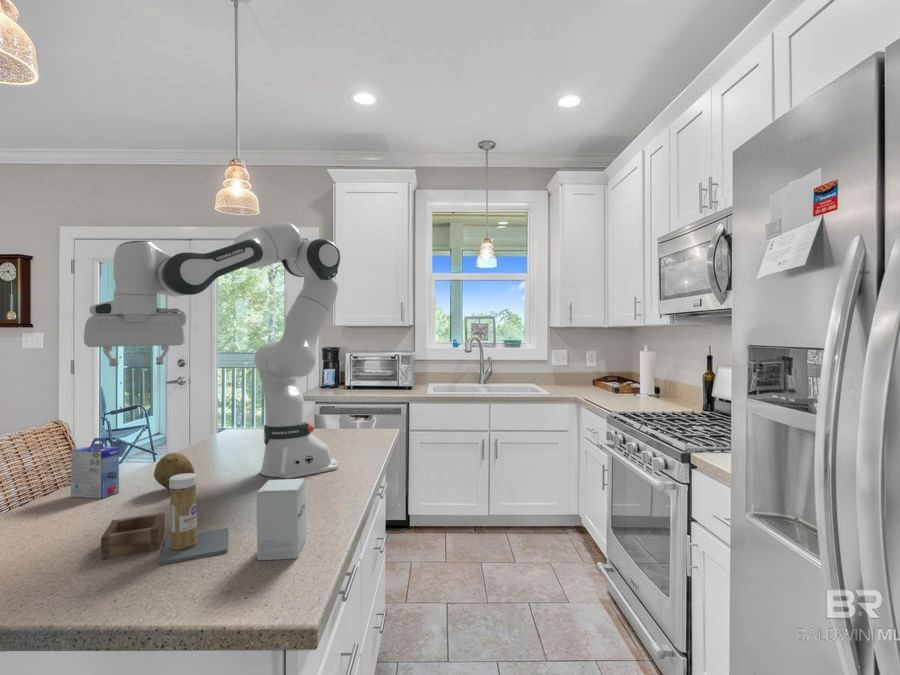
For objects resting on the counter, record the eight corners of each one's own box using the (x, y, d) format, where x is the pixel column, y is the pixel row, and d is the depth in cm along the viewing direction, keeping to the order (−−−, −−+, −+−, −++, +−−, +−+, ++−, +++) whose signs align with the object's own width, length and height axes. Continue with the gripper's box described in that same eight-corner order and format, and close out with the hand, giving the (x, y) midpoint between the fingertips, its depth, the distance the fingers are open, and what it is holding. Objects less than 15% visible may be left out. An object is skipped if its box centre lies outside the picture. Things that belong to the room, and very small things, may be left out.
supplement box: (298, 559, 85) (296, 489, 85) (256, 561, 85) (254, 491, 85) (307, 541, 93) (306, 477, 93) (268, 543, 92) (267, 479, 92)
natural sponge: (146, 492, 123) (145, 454, 123) (179, 482, 131) (178, 447, 131) (166, 497, 119) (166, 458, 119) (199, 487, 127) (199, 450, 127)
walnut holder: (164, 531, 98) (164, 512, 98) (158, 549, 90) (158, 528, 90) (112, 540, 94) (112, 520, 94) (101, 559, 86) (101, 537, 86)
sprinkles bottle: (192, 549, 88) (191, 478, 88) (166, 551, 88) (164, 480, 87) (201, 539, 93) (199, 471, 93) (175, 541, 92) (174, 473, 92)
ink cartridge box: (121, 492, 124) (120, 437, 124) (101, 499, 119) (100, 442, 118) (90, 490, 126) (89, 436, 126) (69, 497, 121) (68, 441, 120)
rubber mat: (227, 530, 98) (227, 527, 98) (227, 552, 88) (227, 549, 88) (167, 541, 94) (167, 538, 94) (159, 565, 84) (159, 561, 84)
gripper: (186, 309, 121) (187, 362, 121) (88, 308, 112) (89, 366, 112) (184, 307, 115) (185, 364, 115) (80, 306, 106) (82, 367, 106)
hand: (137, 365), depth 113 cm, fingers open, 8 cm apart
